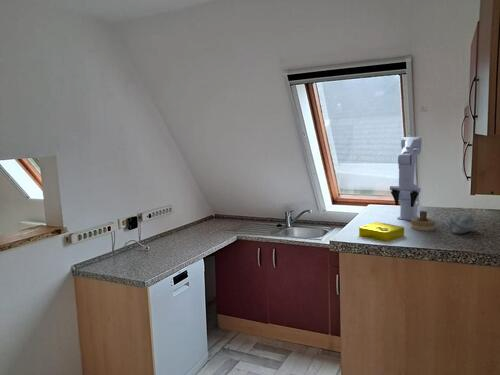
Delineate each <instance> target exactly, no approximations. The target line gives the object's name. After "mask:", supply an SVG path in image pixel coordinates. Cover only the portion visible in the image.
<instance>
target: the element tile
mask: <svg viewBox="0 0 500 375" xmlns="http://www.w3.org/2000/svg"><path fill="white" fill-rule="evenodd" d="M358 230H359V232H358V235H359V237H362V238H366V239H372V240H376V241H380V242H391V241H394V240H398V239H401V238H403V237H405V226H402V225H396V224H391V223H385V222H378V221H376V222H372V223H368V224H365V225H362V226H359V228H358Z"/></svg>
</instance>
